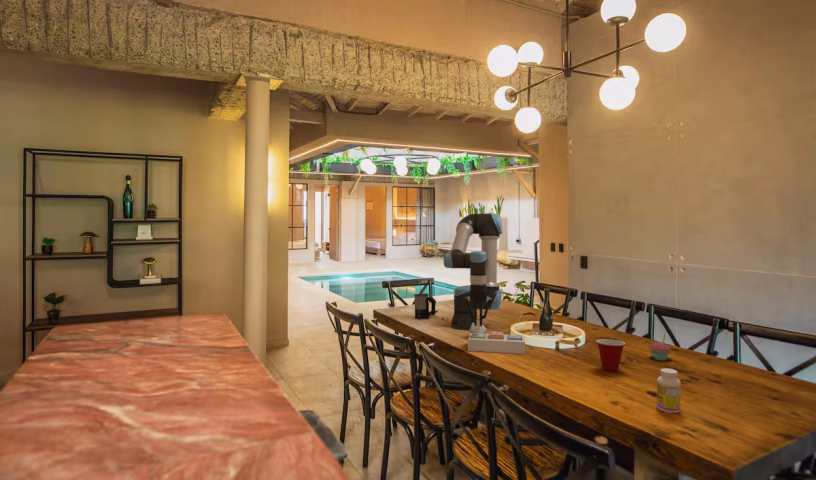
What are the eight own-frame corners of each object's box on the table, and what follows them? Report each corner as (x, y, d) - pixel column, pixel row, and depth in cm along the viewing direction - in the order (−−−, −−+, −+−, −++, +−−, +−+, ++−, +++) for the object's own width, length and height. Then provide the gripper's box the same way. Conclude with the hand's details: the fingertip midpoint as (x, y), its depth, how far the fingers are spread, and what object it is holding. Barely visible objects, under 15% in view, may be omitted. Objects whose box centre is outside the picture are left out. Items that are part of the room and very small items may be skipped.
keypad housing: (470, 343, 226) (469, 332, 225) (524, 346, 220) (524, 335, 220) (467, 351, 214) (467, 339, 214) (525, 353, 208) (525, 342, 208)
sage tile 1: (472, 340, 222) (472, 332, 222) (485, 340, 221) (485, 333, 221) (471, 343, 216) (471, 335, 216) (484, 344, 215) (484, 336, 215)
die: (484, 342, 231) (491, 325, 234) (469, 334, 231) (476, 317, 234) (478, 343, 239) (485, 327, 242) (464, 335, 239) (471, 319, 242)
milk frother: (413, 319, 281) (412, 295, 280) (416, 314, 296) (416, 291, 296) (436, 320, 278) (435, 296, 278) (438, 314, 294) (438, 291, 293)
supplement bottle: (654, 404, 152) (655, 366, 151) (677, 406, 150) (677, 368, 149) (659, 412, 145) (660, 373, 145) (682, 415, 143) (683, 374, 143)
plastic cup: (623, 367, 189) (623, 338, 188) (626, 375, 179) (626, 345, 178) (595, 364, 193) (595, 336, 192) (596, 372, 182) (596, 343, 182)
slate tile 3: (508, 341, 219) (508, 334, 218) (521, 342, 217) (521, 334, 217) (508, 345, 213) (508, 337, 213) (521, 345, 211) (521, 337, 211)
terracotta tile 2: (490, 338, 220) (490, 330, 220) (502, 339, 219) (502, 331, 219) (489, 341, 215) (489, 334, 214) (502, 342, 213) (502, 334, 213)
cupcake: (670, 357, 201) (670, 330, 200) (672, 362, 193) (672, 335, 193) (648, 354, 205) (648, 328, 204) (649, 360, 197) (649, 333, 196)
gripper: (463, 284, 215) (464, 334, 217) (491, 285, 212) (491, 335, 214) (465, 282, 222) (465, 330, 224) (492, 282, 220) (492, 331, 221)
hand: (478, 332), depth 219 cm, fingers closed
